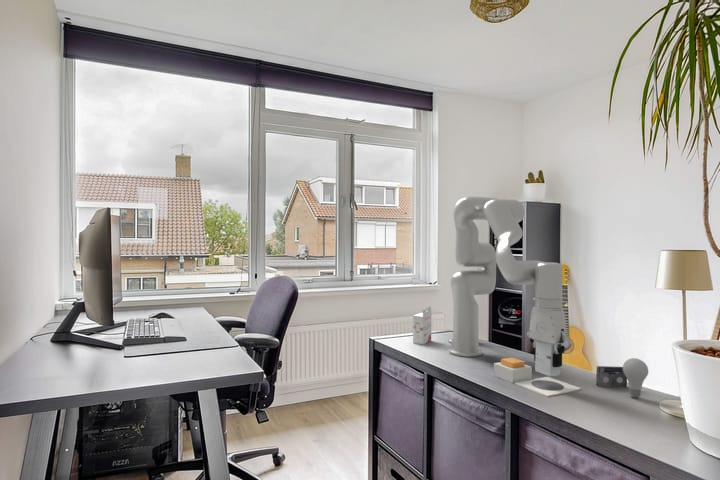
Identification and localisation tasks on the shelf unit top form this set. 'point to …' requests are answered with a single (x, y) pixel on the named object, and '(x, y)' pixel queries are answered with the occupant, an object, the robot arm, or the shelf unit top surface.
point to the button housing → (512, 373)
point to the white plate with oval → (547, 386)
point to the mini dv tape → (610, 377)
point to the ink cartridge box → (422, 327)
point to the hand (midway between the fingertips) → (547, 363)
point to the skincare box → (545, 359)
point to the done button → (512, 362)
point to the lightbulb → (635, 375)
